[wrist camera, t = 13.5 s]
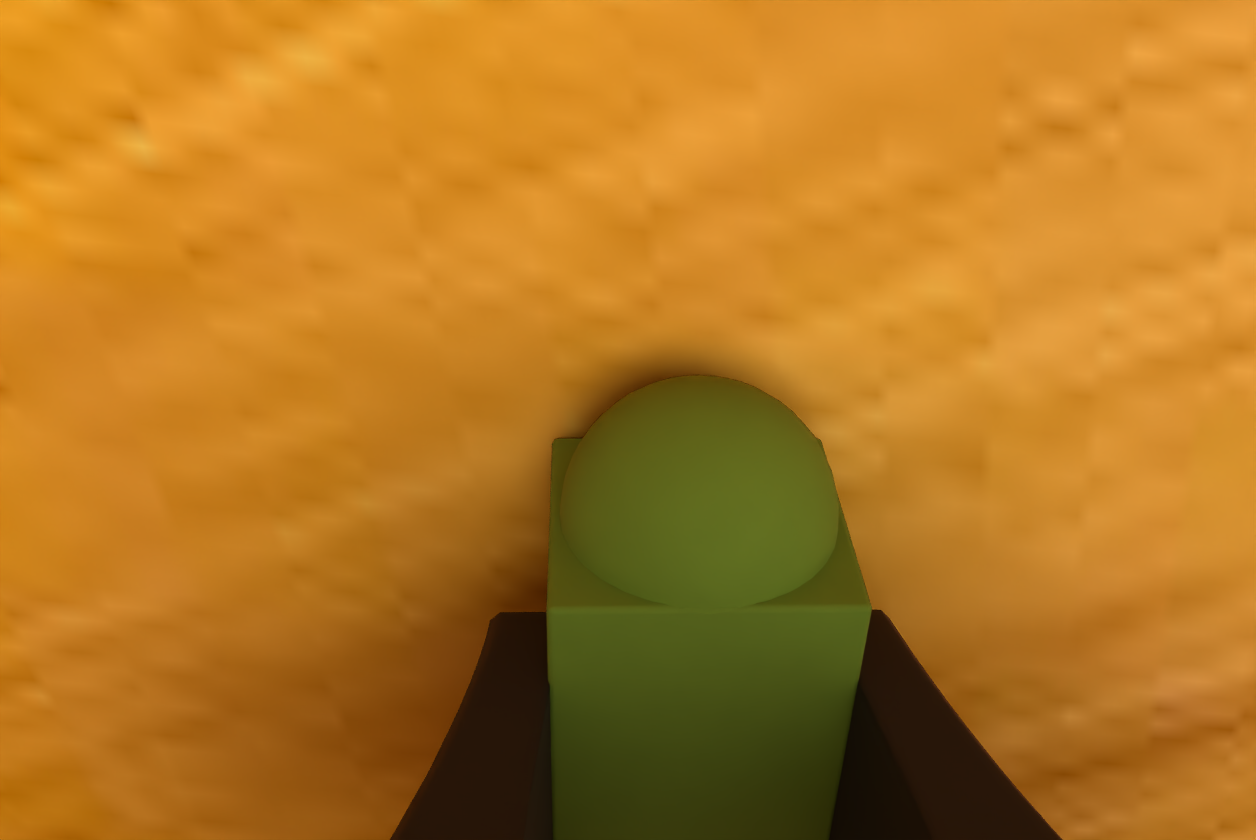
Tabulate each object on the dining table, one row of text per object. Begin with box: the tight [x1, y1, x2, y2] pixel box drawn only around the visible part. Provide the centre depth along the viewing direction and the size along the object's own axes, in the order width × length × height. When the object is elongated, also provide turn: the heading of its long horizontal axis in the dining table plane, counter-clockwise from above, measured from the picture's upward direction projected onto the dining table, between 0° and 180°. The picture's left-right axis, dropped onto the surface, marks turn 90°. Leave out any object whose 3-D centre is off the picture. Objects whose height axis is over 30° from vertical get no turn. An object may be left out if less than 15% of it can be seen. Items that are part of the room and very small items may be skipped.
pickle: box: [546, 375, 872, 840], centre depth 13 cm, size 7×3×3 cm, turn 179°
